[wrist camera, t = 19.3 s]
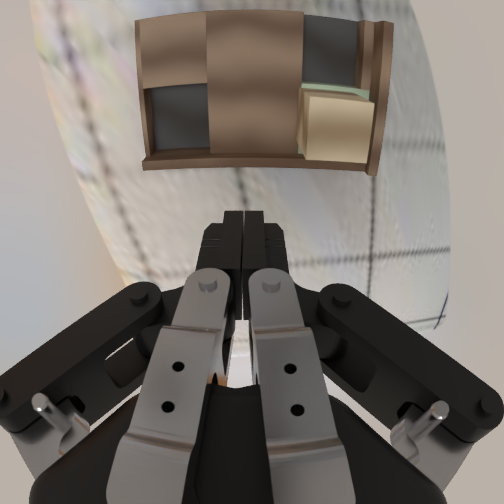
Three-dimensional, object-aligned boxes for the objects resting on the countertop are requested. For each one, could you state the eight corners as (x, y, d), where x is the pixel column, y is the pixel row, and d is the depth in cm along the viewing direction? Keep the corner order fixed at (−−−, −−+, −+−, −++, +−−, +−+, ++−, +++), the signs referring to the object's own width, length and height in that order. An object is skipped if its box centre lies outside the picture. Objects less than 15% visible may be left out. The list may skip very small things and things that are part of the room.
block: (298, 87, 27) (309, 96, 22) (353, 92, 27) (374, 103, 22) (296, 139, 30) (305, 159, 26) (348, 142, 30) (366, 163, 26)
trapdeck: (142, 22, 24) (125, 19, 20) (374, 25, 24) (393, 23, 20) (153, 157, 34) (140, 174, 30) (362, 158, 34) (376, 175, 30)
